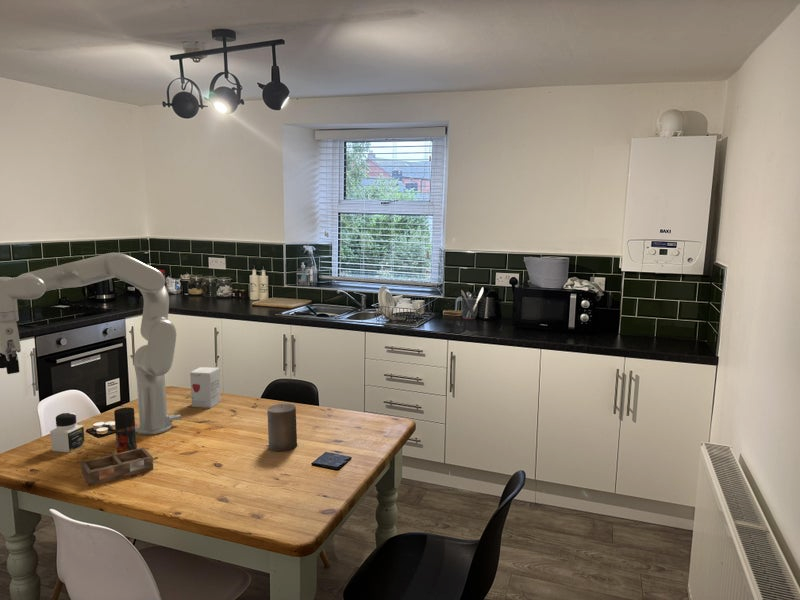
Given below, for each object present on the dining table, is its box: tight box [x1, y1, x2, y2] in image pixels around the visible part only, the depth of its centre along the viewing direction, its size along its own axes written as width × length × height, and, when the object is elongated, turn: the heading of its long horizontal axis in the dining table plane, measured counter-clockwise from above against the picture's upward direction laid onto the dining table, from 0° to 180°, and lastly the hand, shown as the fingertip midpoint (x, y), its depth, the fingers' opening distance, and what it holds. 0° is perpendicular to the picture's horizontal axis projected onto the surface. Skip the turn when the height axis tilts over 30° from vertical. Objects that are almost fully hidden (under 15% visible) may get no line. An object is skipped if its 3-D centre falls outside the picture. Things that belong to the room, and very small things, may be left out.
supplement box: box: [189, 366, 222, 409], centre depth 242 cm, size 9×9×15 cm
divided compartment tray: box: [80, 446, 154, 487], centre depth 177 cm, size 18×10×4 cm, turn 130°
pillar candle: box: [266, 403, 298, 452], centre depth 197 cm, size 10×10×15 cm
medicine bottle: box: [49, 411, 86, 453], centre depth 195 cm, size 7×7×12 cm
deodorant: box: [113, 406, 138, 454], centre depth 190 cm, size 6×6×15 cm
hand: (9, 370), depth 182 cm, fingers open, 9 cm apart
